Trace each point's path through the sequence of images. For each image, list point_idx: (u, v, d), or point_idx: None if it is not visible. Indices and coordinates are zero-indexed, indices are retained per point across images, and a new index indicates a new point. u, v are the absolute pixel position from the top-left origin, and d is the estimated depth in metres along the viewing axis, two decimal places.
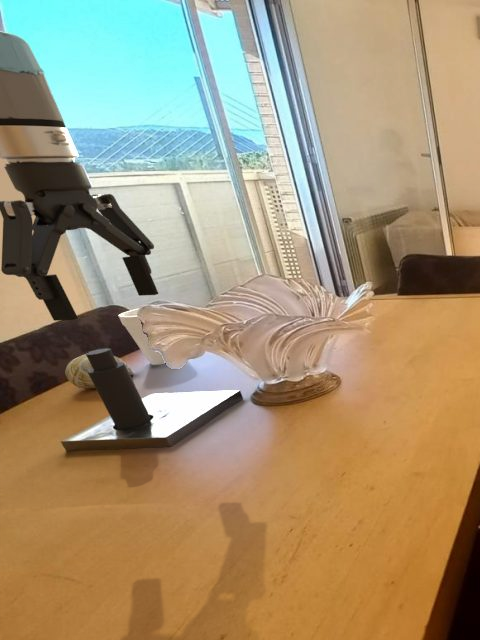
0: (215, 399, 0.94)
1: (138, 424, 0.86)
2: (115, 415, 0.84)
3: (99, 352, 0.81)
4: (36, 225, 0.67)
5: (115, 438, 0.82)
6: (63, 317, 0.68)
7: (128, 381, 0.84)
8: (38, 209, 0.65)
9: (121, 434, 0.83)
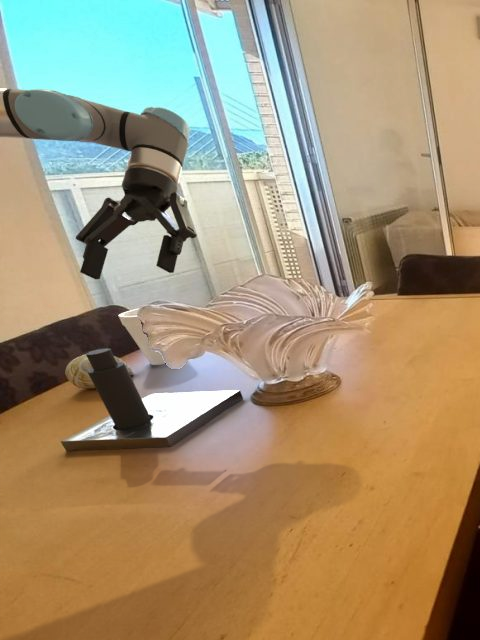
0: (215, 399, 0.94)
1: (138, 424, 0.86)
2: (115, 415, 0.84)
3: (99, 352, 0.81)
4: (157, 208, 0.91)
5: (115, 438, 0.82)
6: (168, 267, 0.88)
7: (128, 381, 0.84)
8: None
9: (121, 434, 0.83)
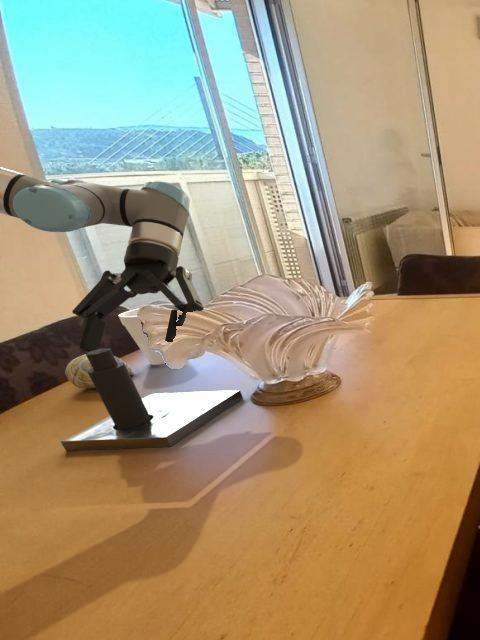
0: (215, 399, 0.94)
1: (138, 424, 0.86)
2: (115, 415, 0.84)
3: (99, 352, 0.81)
4: None
5: (115, 438, 0.82)
6: None
7: (128, 381, 0.84)
8: (174, 277, 0.95)
9: (121, 434, 0.83)
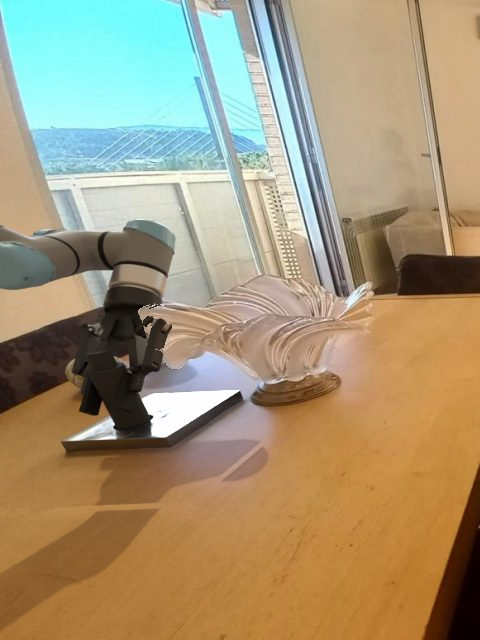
0: (215, 399, 0.94)
1: (138, 424, 0.86)
2: (114, 415, 0.84)
3: (99, 352, 0.81)
4: (136, 334, 0.86)
5: (115, 438, 0.82)
6: (127, 407, 0.83)
7: None
8: None
9: (121, 434, 0.83)
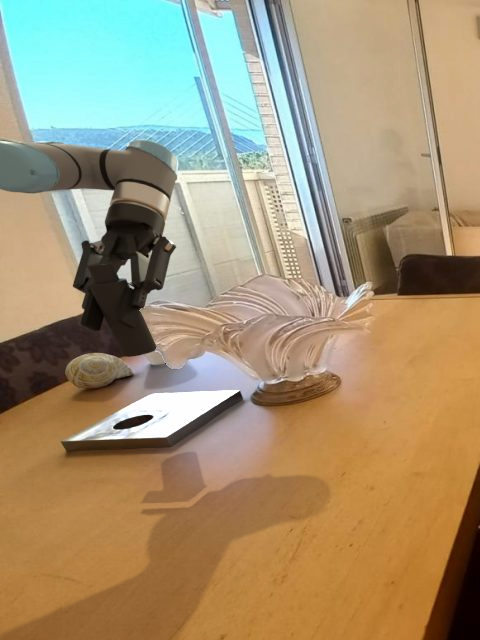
0: (215, 399, 0.94)
1: (140, 343, 0.84)
2: (116, 331, 0.82)
3: (100, 264, 0.79)
4: (138, 251, 0.84)
5: (115, 438, 0.82)
6: (130, 322, 0.81)
7: None
8: None
9: (121, 434, 0.83)
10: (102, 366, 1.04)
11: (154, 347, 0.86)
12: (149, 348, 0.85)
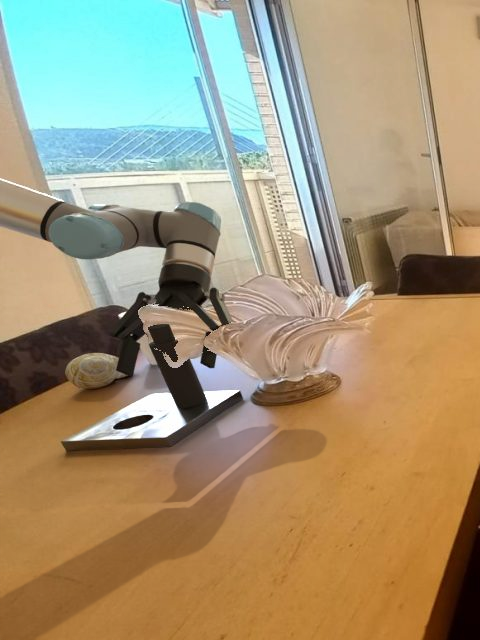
0: (215, 399, 0.94)
1: (193, 395, 0.92)
2: (172, 386, 0.89)
3: (160, 326, 0.87)
4: None
5: (115, 438, 0.82)
6: (210, 363, 0.90)
7: None
8: (207, 298, 0.95)
9: (121, 434, 0.83)
10: (102, 366, 1.04)
11: (204, 398, 0.94)
12: (200, 399, 0.93)
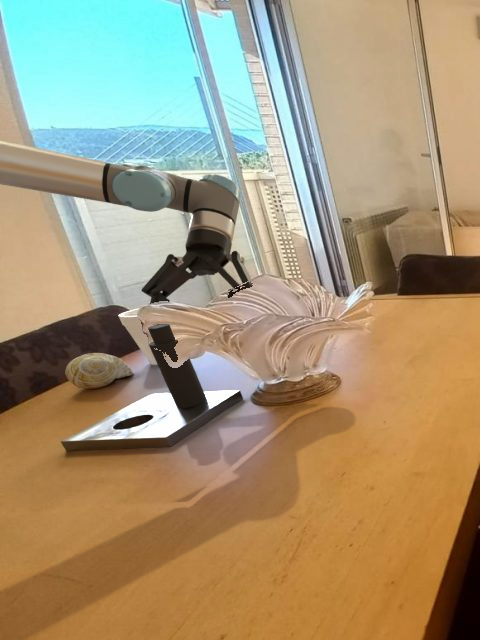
0: (215, 399, 0.94)
1: (193, 395, 0.92)
2: (172, 386, 0.89)
3: (160, 326, 0.87)
4: None
5: (115, 438, 0.82)
6: None
7: None
8: None
9: (121, 434, 0.83)
10: (102, 366, 1.04)
11: (204, 398, 0.94)
12: (200, 399, 0.93)
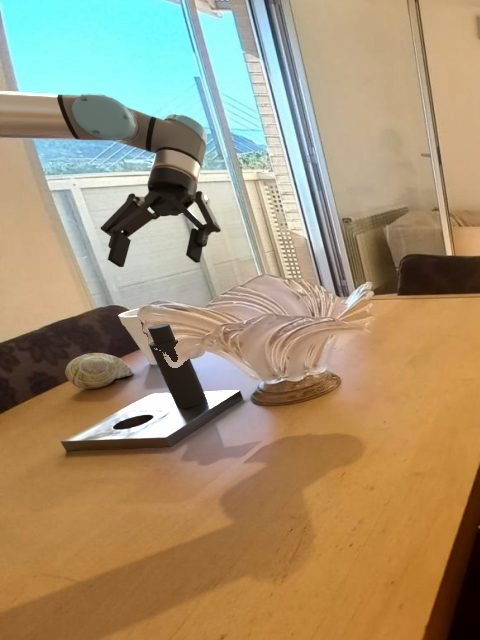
0: (215, 399, 0.94)
1: (193, 395, 0.92)
2: (172, 386, 0.89)
3: (160, 326, 0.87)
4: None
5: (115, 438, 0.82)
6: (195, 257, 0.96)
7: None
8: (193, 202, 1.02)
9: (121, 434, 0.83)
10: (102, 366, 1.04)
11: (204, 398, 0.94)
12: (200, 399, 0.93)
